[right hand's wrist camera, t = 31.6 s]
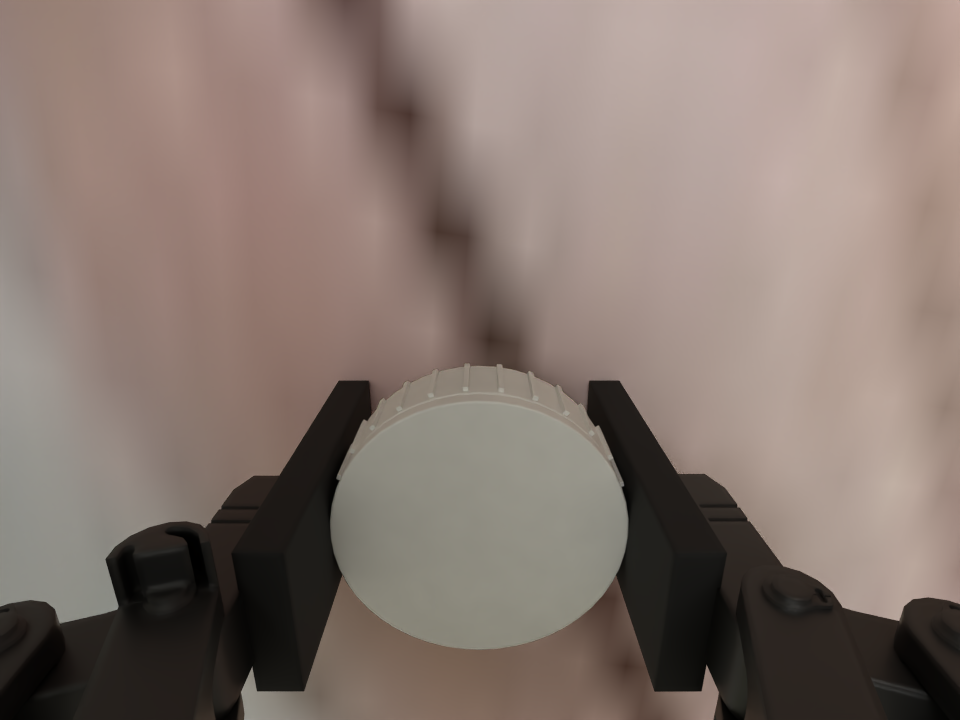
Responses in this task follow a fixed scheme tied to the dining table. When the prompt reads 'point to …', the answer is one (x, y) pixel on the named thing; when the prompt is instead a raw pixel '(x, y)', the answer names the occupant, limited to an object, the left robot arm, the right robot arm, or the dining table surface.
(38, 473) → the dining table surface
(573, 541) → the lid
